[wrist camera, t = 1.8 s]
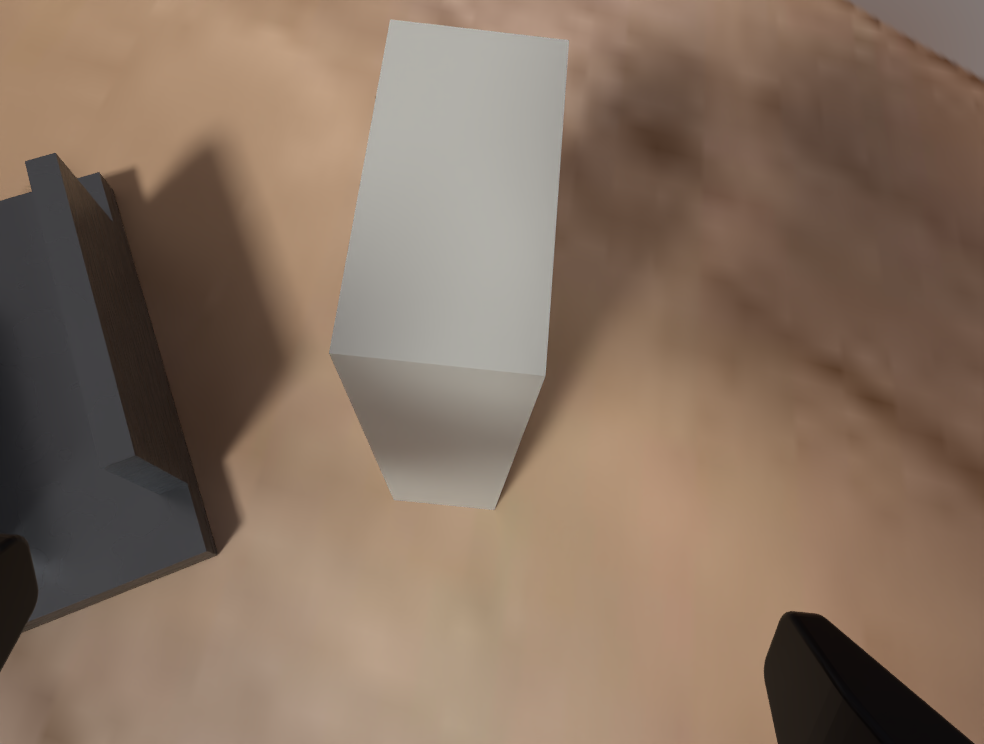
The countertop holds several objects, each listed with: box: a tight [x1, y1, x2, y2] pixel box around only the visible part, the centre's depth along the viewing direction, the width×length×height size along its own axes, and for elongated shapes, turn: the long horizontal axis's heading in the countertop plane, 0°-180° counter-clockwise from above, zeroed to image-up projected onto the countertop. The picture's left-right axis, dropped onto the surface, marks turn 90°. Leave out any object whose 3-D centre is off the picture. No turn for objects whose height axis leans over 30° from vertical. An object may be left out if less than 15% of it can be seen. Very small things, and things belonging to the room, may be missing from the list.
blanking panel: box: [329, 20, 569, 510], centre depth 16 cm, size 6×3×12 cm, turn 175°
